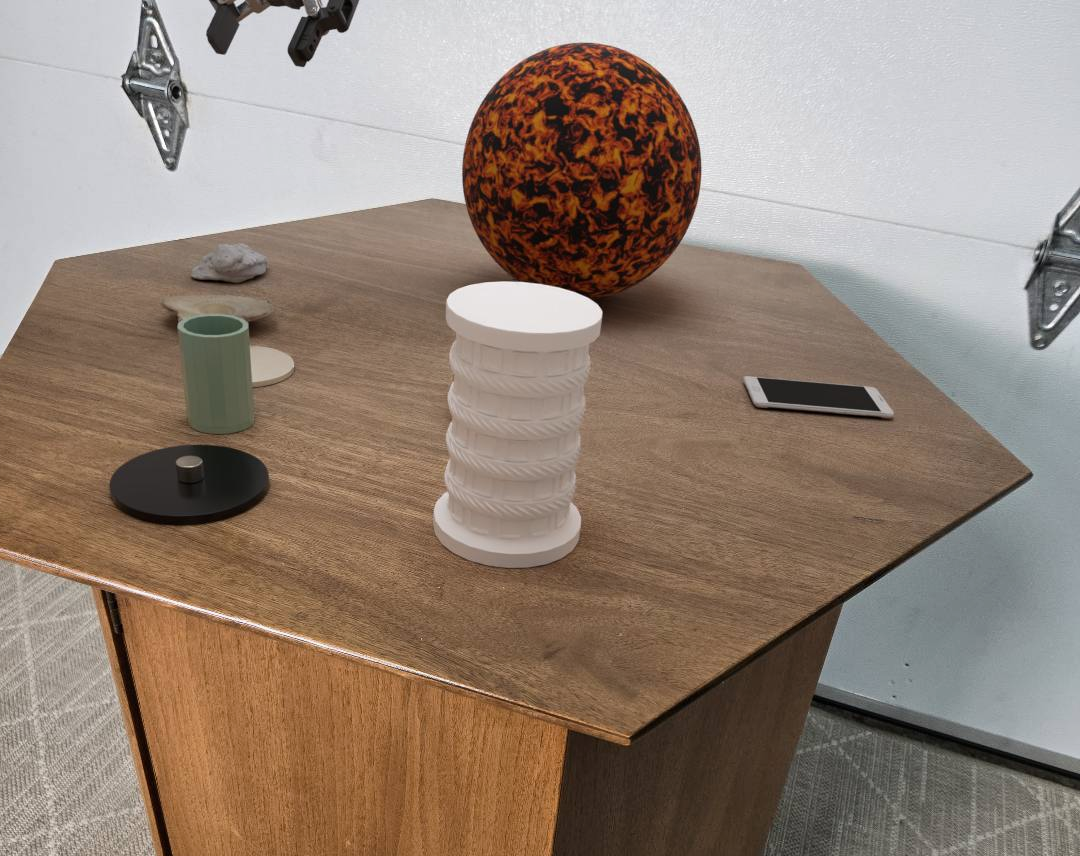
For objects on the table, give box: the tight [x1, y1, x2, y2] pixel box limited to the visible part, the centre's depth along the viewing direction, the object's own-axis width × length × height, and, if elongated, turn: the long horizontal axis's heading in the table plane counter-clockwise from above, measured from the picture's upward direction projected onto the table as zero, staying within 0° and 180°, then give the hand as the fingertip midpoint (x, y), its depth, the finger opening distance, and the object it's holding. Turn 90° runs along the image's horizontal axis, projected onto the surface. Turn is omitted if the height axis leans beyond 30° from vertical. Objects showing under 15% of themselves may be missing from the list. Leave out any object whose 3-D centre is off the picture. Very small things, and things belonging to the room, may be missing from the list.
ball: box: [461, 42, 702, 300], centre depth 123 cm, size 30×30×30 cm
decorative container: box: [432, 280, 603, 569], centre depth 73 cm, size 12×12×18 cm
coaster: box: [250, 345, 295, 388], centre depth 99 cm, size 10×10×1 cm
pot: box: [176, 314, 256, 435], centre depth 87 cm, size 6×6×9 cm
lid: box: [108, 444, 270, 526], centre depth 78 cm, size 12×12×2 cm
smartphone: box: [742, 375, 895, 419], centre depth 105 cm, size 8×1×15 cm
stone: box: [190, 242, 270, 284], centre depth 124 cm, size 10×5×10 cm
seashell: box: [159, 294, 276, 324], centre depth 109 cm, size 12×12×3 cm
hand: (254, 54), depth 88 cm, fingers open, 8 cm apart
